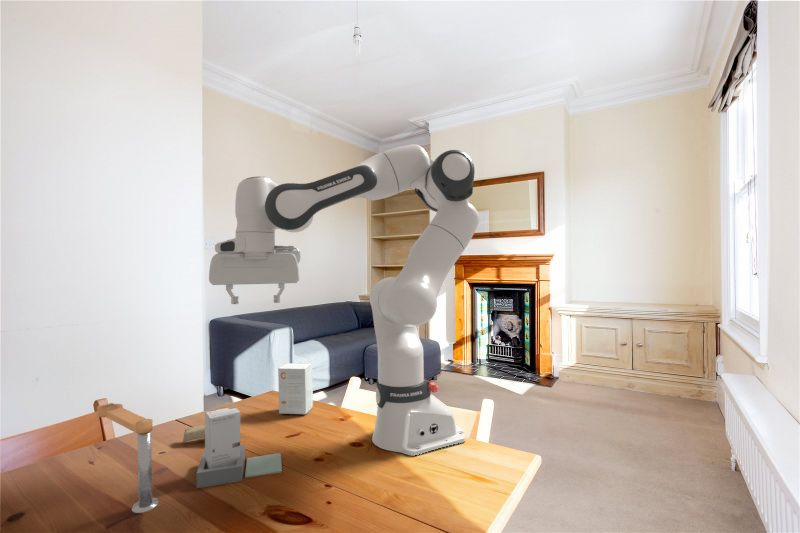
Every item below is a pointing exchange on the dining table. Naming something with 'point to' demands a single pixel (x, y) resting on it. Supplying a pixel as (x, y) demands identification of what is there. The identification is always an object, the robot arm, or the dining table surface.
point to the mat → (263, 465)
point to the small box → (295, 388)
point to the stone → (194, 433)
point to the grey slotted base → (220, 472)
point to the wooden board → (125, 418)
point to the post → (145, 475)
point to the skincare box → (222, 437)
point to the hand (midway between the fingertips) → (256, 303)
